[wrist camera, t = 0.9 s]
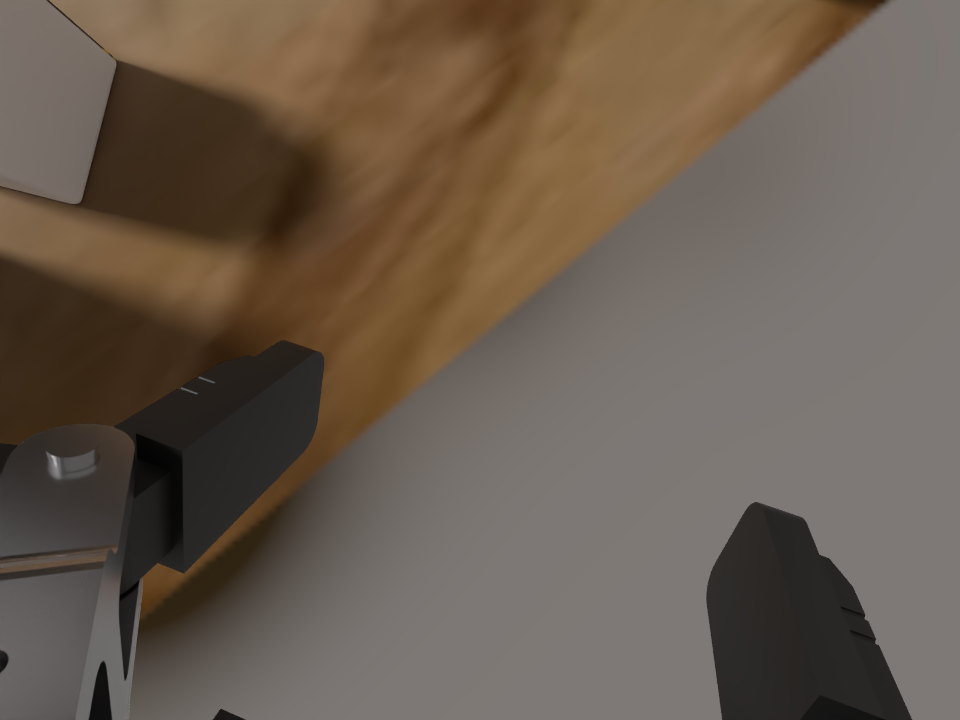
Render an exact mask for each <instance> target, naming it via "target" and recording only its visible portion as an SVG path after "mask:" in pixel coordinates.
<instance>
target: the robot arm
mask: <svg viewBox="0 0 960 720" xmlns="http://www.w3.org/2000/svg"><path fill="white" fill-rule="evenodd" d="M323 370H324V357H323V355H322V353H320V352H318V351H315V350H312V349H309V348H306V347H303V346H300V345H297V344H294V343H291V342H288V341H285V340H283V341H280V342H278V343H276V344H275V345H273V346H271V347H270V348H268V349H267V350H265V351H264V352H262V353H260V354H259V355H257V356H256V357H252V356H249V355H248V356H244V357H241V358H237V359H233V360H229V361H226V362H222V363H219V364H218V365H216V366H215V367H213V368H211V369H210V370H208V371H206V372H205V373H203V374H201V375H200V376H199V378H198V379H196V378H195V379H193V380H191V381H190V382H188V383H186V384H185V385H183V386H182V387H181V389H180V390H178V389H176V390H175V391H173V392H171V393H170V394H168V395H166V396H165V397H163V398H161V399H160V400H158V401H156V402H155V403H153V404H151V405H150V406H148V407H146V408H145V409H143V410H141V411H140V412H138V413H136V414H135V415H133V416H131V417H130V418H128V419H126V420H125V421H123V422H121V423H120V424H118V425H116V426H115V427H111V426H106V425H100V424H72V425H66V426H61V427H56V428H52V429H49V430H46V431H43V432H41V433H38V434H36V435H34V436H32V437H30V438H28V439H26V440H25V441H23V442H22V443H21V444H19V445H11V444H2V443H0V720H129V704H130V692H131V684H132V675H133V667H134V658H135V650H136V641H137V633H138V624H139V616H140V607H141V599H142V590H143V581H142V577H143V576H144V575H145V574H146V573H147V572H148V571H149V570H150V569H151V568H152V567H154V566H155V565H156V564H157V563H160V564H162V565H164V566H167V567H169V568H172V569H174V570H177V571H179V572H181V573H185V572H186V571H187V570H188V569H189V568H190V567H191V566H192V565H193V564H194V563H195V562H196V561H197V560H198V559H199V558H200V557H201V556H202V555H203V554H204V553H205V552H206V550H207V549H208V548H209V547H210V546H211V545H212V544H213V543H214V542H215V541H216V540H217V539H218V538H219V537H220V536H221V535H222V534H223V533H224V532H225V531H226V530H227V529H228V528H229V527H230V526H231V525H232V524H233V523H234V522H235V521H236V520H237V519H238V518H239V517H240V516H241V515H242V514H243V513H244V512H245V511H246V510H247V509H248V508H249V507H250V506H251V505H252V504H253V503H254V502H255V501H256V500H257V499H258V498H259V497H260V496H261V495H262V494H263V493H264V492H265V491H266V490H267V489H268V488H269V487H270V486H271V485H272V484H273V483H274V482H275V481H276V480H277V479H278V478H279V477H280V476H281V474H282V473H283V472H284V471H285V470H286V469H287V468H288V467H289V466H290V465H291V464H292V463H293V462H294V461H295V460H296V459H297V458H298V457H299V456H300V455H301V454H302V453H303V452H304V451H305V450H306V448H307V447H308V445H309V443H310V442H311V440H312V437H313V435H314V432H315V429H316V426H317V421H318V413H319V404H320V396H321V387H322V379H323ZM706 597H707V598H706V599H707V609H708V616H709V624H710V630H711V639H712V646H713V654H714V661H715V668H716V676H717V684H718V690H719V697H720V706H721V713H722V720H912V719H911V716H910V714H909V712H908V710H907V707H906V706H905V703H904V701H903V698H902V696H901V694H900V692H899V689H898V687H897V685H896V683H895V680H894V678H893V676H892V674H891V671H890V670H889V667H888V665H887V662H886V660H885V658H884V656H883V653H882V651H881V649H880V647H879V645H876V644H875V640H876V638H875V636H874V634H873V631H872V629H871V627H870V624H869V622H868V621H867V620H865V619H864V617H865V613H864V611H863V609H862V606H861V604H860V602H859V600H858V597H857V595H856V593H855V591H854V588H853V586H852V585H851V584H850V583H849V582H848V581H847V579H846V578H845V577H844V576H843V574H842V573H841V572H840V571H839V570H838V568H837V567H836V566H835V565H834V564H833V563H832V561H831V560H830V559H829V558H826V557H824V556H821V555H819V553H818V550H817V548H816V545H815V543H814V540H813V538H812V536H811V533H810V531H809V528H808V525H807V523H806V521H805V520H804V519H803V518H802V517H799V516H796V515H793V514H790V513H787V512H785V511H782V510H779V509H776V508H773V507H770V506H767V505H764V504H761V503H758V502H755V503H753V504H751V505H750V506H749V507H748V508H747V509H746V511H745V513H744V514H743V516H742V518H741V519H740V521H739V523H738V524H737V526H736V528H735V530H734V531H733V533H732V535H731V537H730V538H729V540H728V542H727V544H726V545H725V547H724V549H723V550H722V552H721V554H720V556H719V557H718V559H717V561H716V563H715V565H714V567H713V569H712V571H711V574H710V578H709V581H708V586H707V596H706ZM213 720H245V719H243V718H240V717H238V716H236V715H234V714H231V713H229V712H227V711H225V710H222V709H220V710H219V712H218V713H217V715H216V716H215V718H214V719H213Z"/></svg>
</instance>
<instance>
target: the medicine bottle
mask: <svg viewBox="0 0 960 720" xmlns="http://www.w3.org/2000/svg"><path fill="white" fill-rule="evenodd" d="M115 70H116V61H115V59H114V58H113V56H112V55H111V54H109V53H108V52H107V51H106V50H105V49H104V48H103V47H101V46H100V45H99V44H98V43H97V42H96V41H95V40H93V39H92V38H91V37H90V36H89V35H88V34H87V33H85V32H84V31H83V30H82V29H81V28H80V27H79V26H77V25H76V24H75V23H74V22H73V21H72V20H71V19H69V18H68V17H67V16H66V15H65V14H64V13H63V12H61V11H60V10H59V9H58V8H57V7H56V6H55V5H53V4H52V3H51V2H50V1H49V0H0V186H2V187H6V188H10V189H14V190H18V191H22V192H26V193H30V194H34V195H38V196H42V197H45V198H49V199H53V200H57V201H61V202H65V203H69V204H78V203H80V202H81V200H82V198H83V194H84V190H85V186H86V182H87V179H88V175H89V171H90V167H91V163H92V159H93V155H94V151H95V147H96V144H97V140H98V136H99V132H100V128H101V124H102V120H103V116H104V112H105V109H106V105H107V101H108V97H109V93H110V89H111V85H112V81H113V77H114V74H115Z"/></svg>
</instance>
